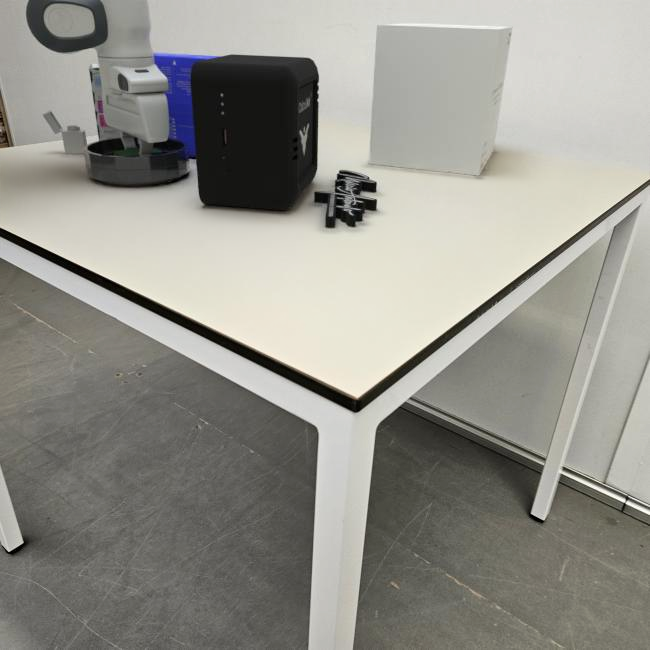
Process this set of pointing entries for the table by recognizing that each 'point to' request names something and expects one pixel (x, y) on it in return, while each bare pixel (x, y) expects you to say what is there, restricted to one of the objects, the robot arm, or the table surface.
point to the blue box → (179, 94)
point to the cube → (437, 95)
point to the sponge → (134, 152)
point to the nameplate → (347, 198)
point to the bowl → (136, 163)
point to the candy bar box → (100, 106)
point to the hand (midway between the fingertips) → (138, 160)
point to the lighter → (68, 135)
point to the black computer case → (255, 129)
